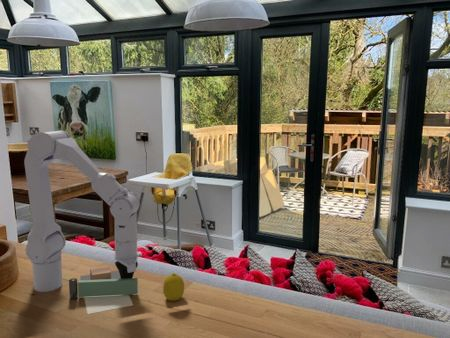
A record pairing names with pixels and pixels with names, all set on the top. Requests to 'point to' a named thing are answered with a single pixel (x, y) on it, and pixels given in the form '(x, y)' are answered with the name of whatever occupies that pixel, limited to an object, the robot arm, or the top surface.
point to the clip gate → (107, 287)
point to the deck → (106, 298)
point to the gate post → (73, 289)
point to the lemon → (173, 287)
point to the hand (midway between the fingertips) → (126, 286)
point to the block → (100, 273)
